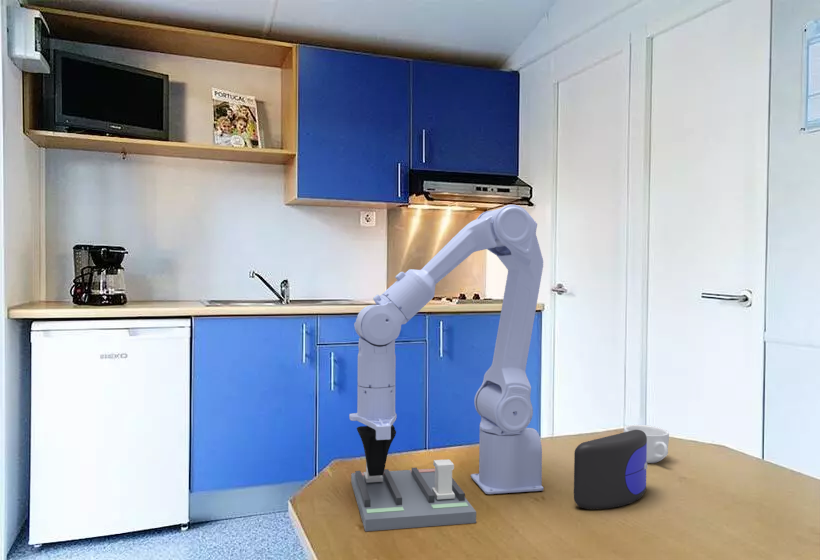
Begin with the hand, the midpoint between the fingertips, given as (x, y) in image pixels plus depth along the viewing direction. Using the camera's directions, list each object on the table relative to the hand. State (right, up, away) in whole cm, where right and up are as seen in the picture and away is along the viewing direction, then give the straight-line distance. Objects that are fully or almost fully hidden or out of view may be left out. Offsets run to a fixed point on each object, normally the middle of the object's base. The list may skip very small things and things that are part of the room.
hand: (375, 474), depth 87 cm
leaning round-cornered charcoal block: (+36, -4, 0) cm, 36 cm away
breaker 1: (-1, -1, +2) cm, 3 cm away
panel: (+5, -3, -2) cm, 6 cm away
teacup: (+49, -4, +18) cm, 52 cm away
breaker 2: (+10, -2, -4) cm, 11 cm away
